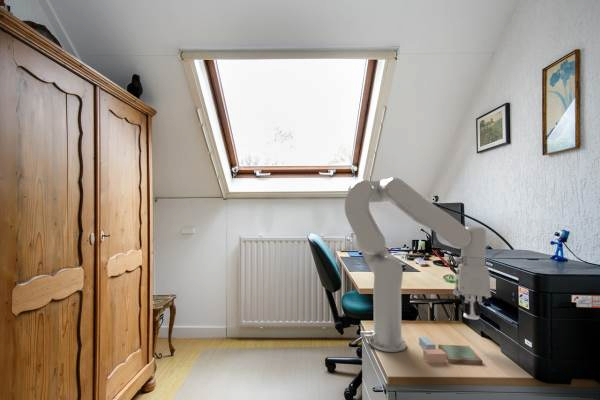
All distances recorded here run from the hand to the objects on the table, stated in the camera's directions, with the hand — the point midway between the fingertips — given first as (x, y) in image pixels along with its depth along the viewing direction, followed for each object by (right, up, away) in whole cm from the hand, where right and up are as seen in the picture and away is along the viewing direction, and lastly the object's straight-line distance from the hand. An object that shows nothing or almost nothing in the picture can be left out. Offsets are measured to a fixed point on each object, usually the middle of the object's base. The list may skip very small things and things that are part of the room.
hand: (471, 313), depth 110 cm
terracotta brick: (-17, -11, -10) cm, 23 cm away
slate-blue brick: (-16, -12, -2) cm, 20 cm away
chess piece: (0, -1, 0) cm, 1 cm away
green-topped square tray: (-8, -11, -7) cm, 16 cm away
